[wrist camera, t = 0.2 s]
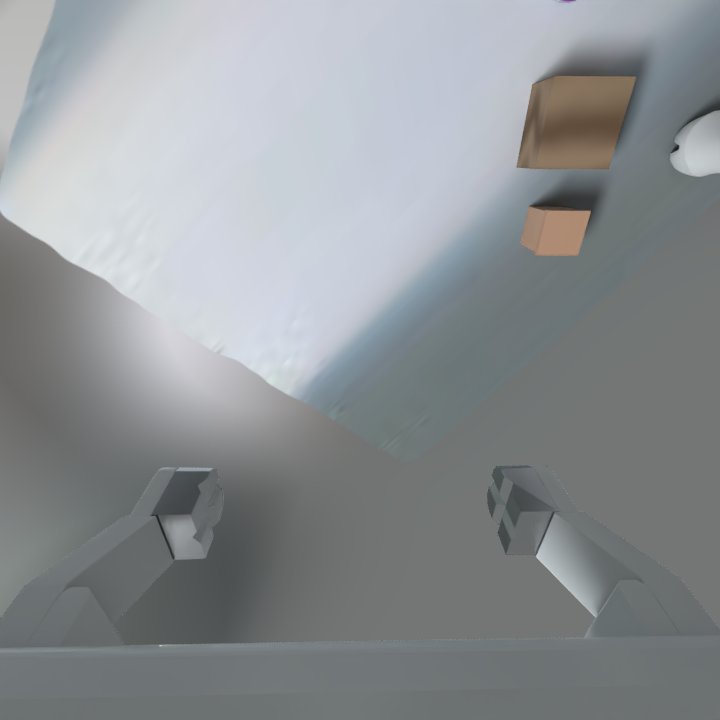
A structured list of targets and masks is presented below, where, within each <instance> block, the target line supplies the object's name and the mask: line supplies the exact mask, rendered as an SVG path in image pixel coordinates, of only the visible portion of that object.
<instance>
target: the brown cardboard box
mask: <svg viewBox="0 0 720 720" xmlns="http://www.w3.org/2000/svg"><path fill="white" fill-rule="evenodd" d="M590 213H591V211H589V210H576V209H572V208H568V207H539V206H529V208H528V212H527V217H526V221H525V226H524V230H523V235H522V239H521V245H523V246H525V247H527V248H529V249H531V250H533V251H535V252H534V254H536V255H578V253H579V249H580V246H581V243H582V240H583V236H584V233H585V230H586V226H587V223H588V220H589V217H590Z"/></svg>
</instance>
